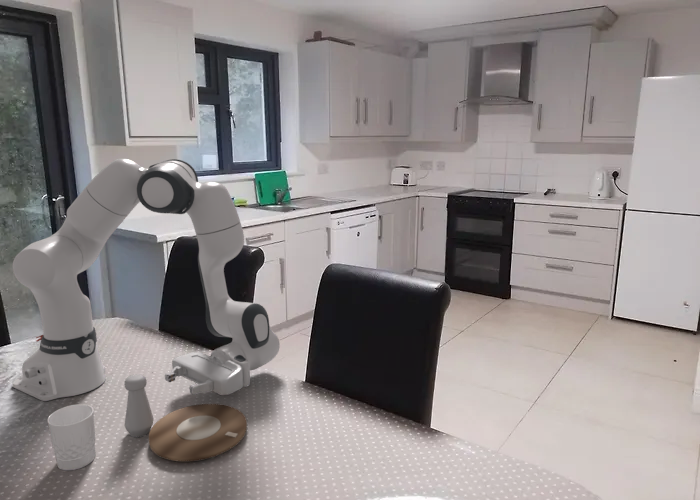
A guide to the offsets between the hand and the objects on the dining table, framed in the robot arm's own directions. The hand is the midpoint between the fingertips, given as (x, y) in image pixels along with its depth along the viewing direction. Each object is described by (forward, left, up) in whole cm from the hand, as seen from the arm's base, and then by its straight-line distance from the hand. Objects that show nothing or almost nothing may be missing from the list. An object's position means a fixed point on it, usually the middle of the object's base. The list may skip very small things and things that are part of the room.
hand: (178, 384), depth 116 cm
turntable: (+10, -7, -7) cm, 14 cm away
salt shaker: (-3, -10, -7) cm, 13 cm away
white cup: (-8, -22, -7) cm, 24 cm away
